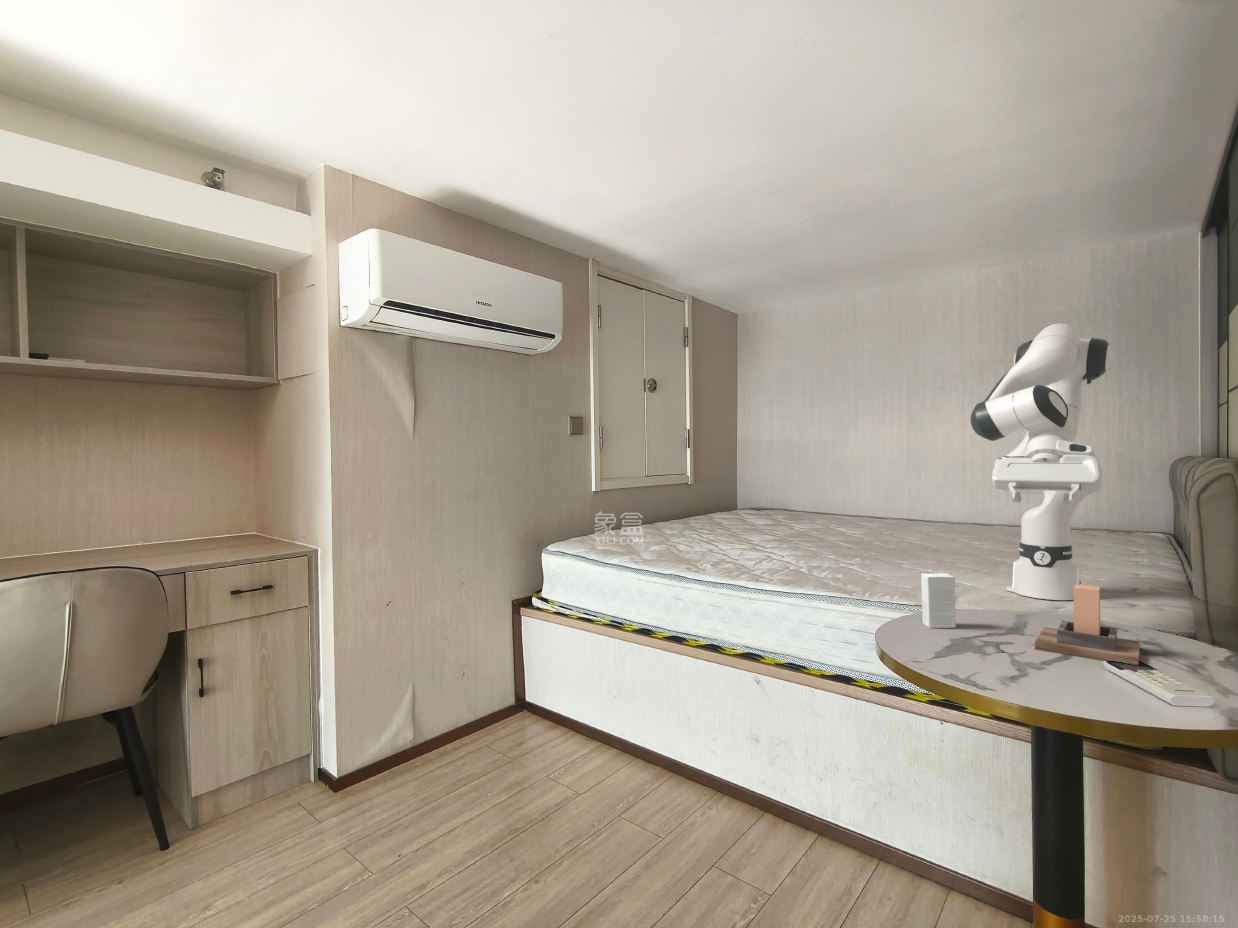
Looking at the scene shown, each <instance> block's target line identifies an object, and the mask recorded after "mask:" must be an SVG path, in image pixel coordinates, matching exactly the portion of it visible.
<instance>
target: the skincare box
mask: <svg viewBox="0 0 1238 928" xmlns="http://www.w3.org/2000/svg"><path fill="white" fill-rule="evenodd" d="M920 576H921V577H920V581H921V583H920V584H921V585H920V587H921V609H922V610H921V613H922V615H921V616H922V625H925V626H926V627H927V628H929V629H955V628H957V626H956V625H957V624H956V622H957V620H956V619H957V618H956V587H955V586H956V582H955V580H956V579H955V578H956V577H955V576H953V575H951V574H950V573H946V572H944V573H939V572H938V573H932V572H931V573H921V574H920Z"/></svg>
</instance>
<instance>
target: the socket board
mask: <svg viewBox="0 0 1238 928" xmlns="http://www.w3.org/2000/svg"><path fill="white" fill-rule="evenodd" d="M1034 649H1035V650H1039V651H1045V652H1050V653H1056V654H1062V655H1066V656H1067V655H1068V656H1074V657H1080V658H1085V659H1086V658H1088V659H1092V660H1097V661H1103V662H1104V661H1105V662H1109V661H1116V662H1123V663H1132V664H1137V665H1138V664H1139V663H1140V662H1139V661H1140V650H1141V640H1134V639H1127V638H1121V637H1118V628H1117V627H1112V626H1104V625H1100V635H1093V634H1086V633H1079V632H1074V621H1069V620H1068V621H1067V620H1066V621H1065V620H1062V621H1061V622H1060V624H1059V627H1058V628H1052V627H1043V628H1042V630H1041V631H1040V633H1039V635H1038V636H1037V638H1036V640H1035V641H1034ZM1106 660H1108V661H1106ZM1138 666H1139V665H1138Z"/></svg>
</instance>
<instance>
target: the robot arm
mask: <svg viewBox="0 0 1238 928" xmlns="http://www.w3.org/2000/svg"><path fill="white" fill-rule="evenodd" d="M1112 360H1113V351H1112V349H1111V347H1110V343H1109V342H1108V341H1107V339H1106V340H1105V339H1102V338H1095V337H1091V338H1081V337H1080V334H1079V332H1078V330H1077V329H1076V328H1075V327H1073V326H1071V325H1070V324H1067V323H1062V322H1061V323H1059V322H1058V323H1053V324H1050V325H1048V326H1046V327H1045V328H1043V329H1041V330H1040V332H1038V333H1037V334H1036V336H1035V338H1033V339H1031V340H1028V341H1026V342H1023V343H1022V344H1020V345H1019V346H1017V349H1016V351H1015V353H1014V356H1013V366H1012V367H1011V368H1010V369H1008V371H1007V372H1005V374H1004V375H1003V376H1002V377H1001V378H1000V379H999V380H998V381H997V383H996V384H995V386H994V387H993V388H992V389H991V391H990V393H989V394H988V395H987V397H986V398H985V399H984V400H983V401H982V402H978V403H976V405H975V406H974V408H973V409H972V412H971V415H970V425H971V428H972V430H973V431H974V433H975V434H977V435H978V436H980V437H981V438H983V439H986V440H987V441H991V442H995V441H998V440H1000V439H1003V438H1006V437H1009V436H1012V435H1015V434H1019V433H1023V432H1026V434H1025V436H1024V437H1023V439H1022V441H1020V443H1019V444H1018V445H1017V446H1016V447H1015V448H1014V449H1013V450H1012V451H1011V452H1008V453H1007V454H1006V455H1003V456H1002V457H999V458H997V459H995V460H994V464H993V467H992V471H991V480H992V481H991V482H992V485H993V487H994V488H995V489H997V490H1002V491H1007V492H1009V493H1010V495H1011V497H1012V498H1011V500H1012V503H1021V500H1022V494H1034V495H1035V494H1037V495H1043V496H1044V497H1043V501H1042V503H1041V504H1040V505H1037V506H1035V507H1032V508H1030V509H1028V510H1026V511H1025V512H1024V513H1023V514H1022V515H1021V519H1020V538H1021V539H1020V542H1019V547H1018V550H1019V558H1018V559H1016V560H1015V561H1013V564H1012V565H1013V567H1012V583H1011V584H1009V585H1006V586H1005V591H1008V592H1012V593H1015V594H1018V595H1019V596H1020V595H1021V596H1024V597H1029V598H1034V599H1042V600H1052V601H1053V600H1054V601H1074V586H1075V584H1077V585H1082V581H1081V580H1080V579H1079V574H1080V573H1079V567H1078V566H1077V565H1076V564H1075V563H1073V560H1072V559H1073V553H1074V551H1073V546H1072V545H1071V524H1072V517H1073V515H1074V514H1073V513H1074V512H1075V510H1076V508H1077V507H1078V505H1079V504H1080V503H1081V501H1083V500H1084V499H1085V498H1086V497H1087V496H1089V495H1091V494H1093V493H1094V492H1095V493H1096V492H1097V491H1099V490H1100V489H1101V487H1102V482H1103V479H1104V472H1103V468H1102V466H1101V464H1100V463H1099V462H1098V459H1097V458H1096V454H1095V449H1094V448H1093V446H1092V445H1086V444H1082V443H1075V442H1073V441H1074V440H1075V439H1076V437H1077V435H1078V430H1079V429H1078V428H1079V423H1080V417H1081V411H1082V402H1083V401H1082V399H1083V396H1082V395H1083V394H1082V383H1083V381H1085V380H1086V385H1090V384H1092V382H1093V381H1094V380H1097V379H1098V378H1101V376H1103V375H1104V374H1105V373H1106V372H1107V371H1108V368H1109V367H1110V365H1111V363H1112Z"/></svg>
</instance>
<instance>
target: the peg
mask: <svg viewBox="0 0 1238 928" xmlns="http://www.w3.org/2000/svg"><path fill="white" fill-rule="evenodd" d="M1073 622H1074V632H1079V633H1086V634H1093V635H1100V626H1101V586H1094V585H1088V584H1087V585H1084V584H1080V585H1077V584H1075V586H1074V600H1073Z"/></svg>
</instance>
